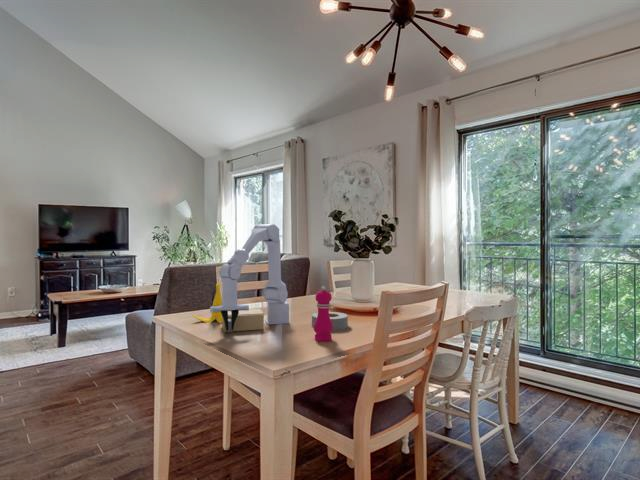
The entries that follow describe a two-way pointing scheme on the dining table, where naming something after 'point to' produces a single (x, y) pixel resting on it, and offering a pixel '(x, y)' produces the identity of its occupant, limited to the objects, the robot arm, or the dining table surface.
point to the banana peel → (216, 302)
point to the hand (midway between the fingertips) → (229, 329)
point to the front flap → (246, 323)
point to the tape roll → (334, 320)
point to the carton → (250, 312)
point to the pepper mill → (323, 316)
